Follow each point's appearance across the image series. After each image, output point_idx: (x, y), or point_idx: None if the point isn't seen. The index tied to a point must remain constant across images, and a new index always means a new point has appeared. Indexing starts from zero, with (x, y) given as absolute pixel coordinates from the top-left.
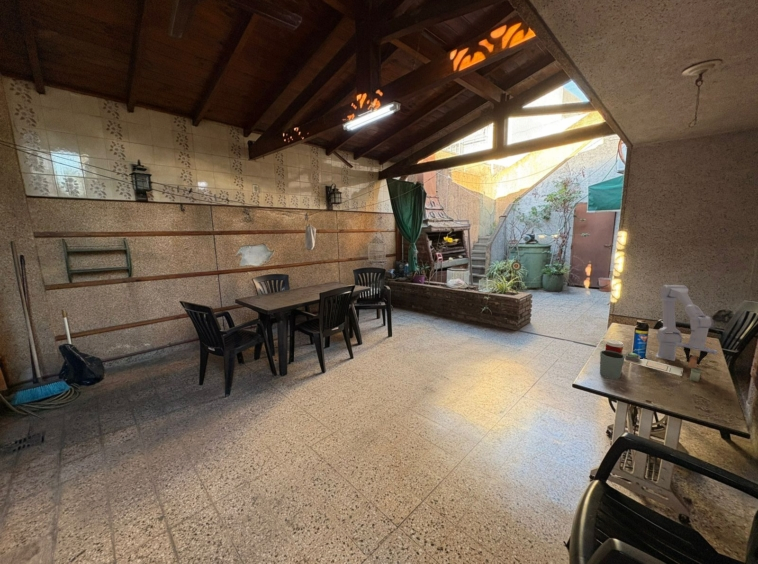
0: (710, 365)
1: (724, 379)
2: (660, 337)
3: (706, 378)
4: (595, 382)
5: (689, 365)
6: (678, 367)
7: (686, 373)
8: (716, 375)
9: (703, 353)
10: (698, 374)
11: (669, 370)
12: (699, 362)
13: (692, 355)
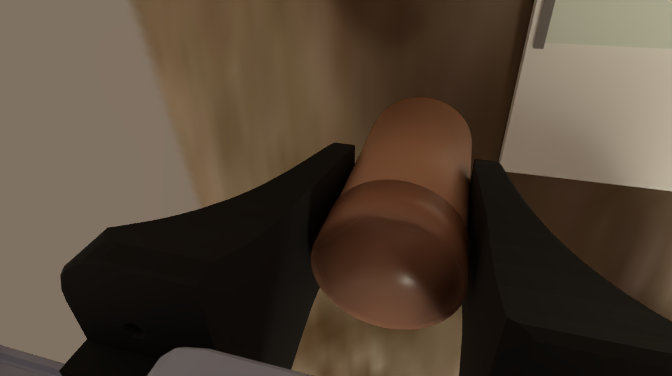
0: (301, 365)
1: (182, 135)
2: None
3: (288, 32)
4: None
5: (454, 122)
6: (552, 169)
7: (480, 38)
8: (241, 193)
9: (123, 279)
10: None
11: None
12: (315, 156)
13: (413, 305)
